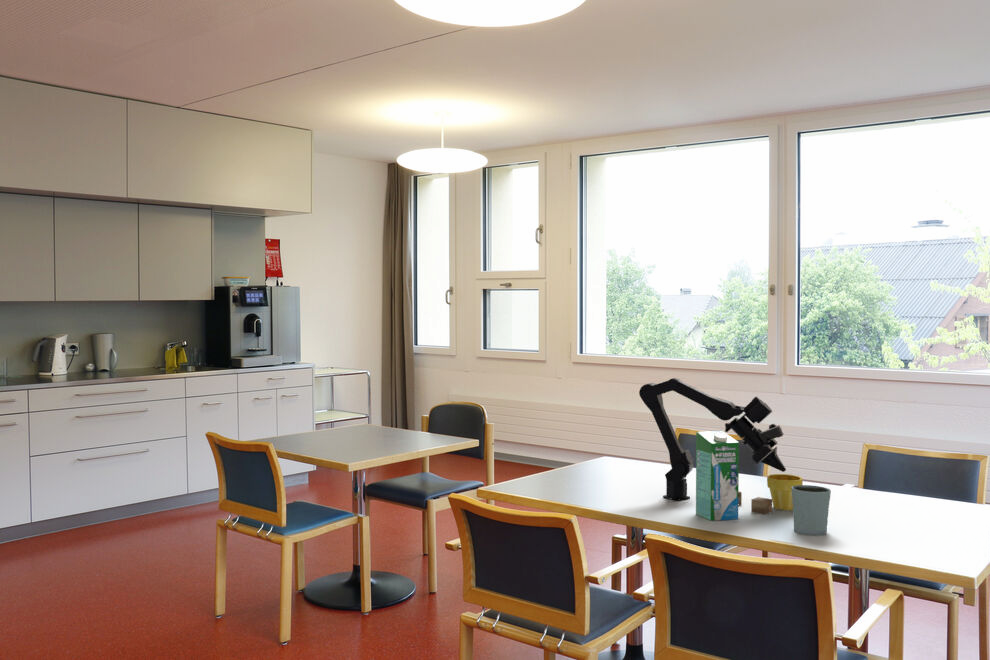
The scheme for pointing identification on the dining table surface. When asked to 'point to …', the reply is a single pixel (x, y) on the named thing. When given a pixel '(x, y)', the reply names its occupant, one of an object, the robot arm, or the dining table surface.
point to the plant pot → (782, 489)
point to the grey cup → (810, 509)
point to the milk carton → (717, 475)
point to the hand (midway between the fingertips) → (784, 470)
